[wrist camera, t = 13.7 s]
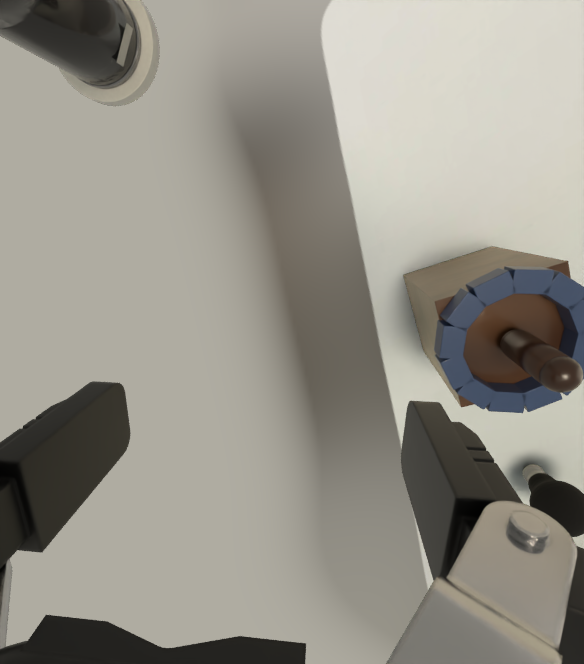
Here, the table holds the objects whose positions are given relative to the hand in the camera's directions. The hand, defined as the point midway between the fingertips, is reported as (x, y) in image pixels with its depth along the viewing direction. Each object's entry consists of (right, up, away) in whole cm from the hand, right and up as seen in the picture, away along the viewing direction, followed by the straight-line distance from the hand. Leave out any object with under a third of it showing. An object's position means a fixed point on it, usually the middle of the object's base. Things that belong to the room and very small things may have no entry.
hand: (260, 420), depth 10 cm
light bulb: (+32, -15, +39) cm, 53 cm away
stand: (+20, +6, +33) cm, 39 cm away
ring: (+19, +2, +20) cm, 27 cm away
